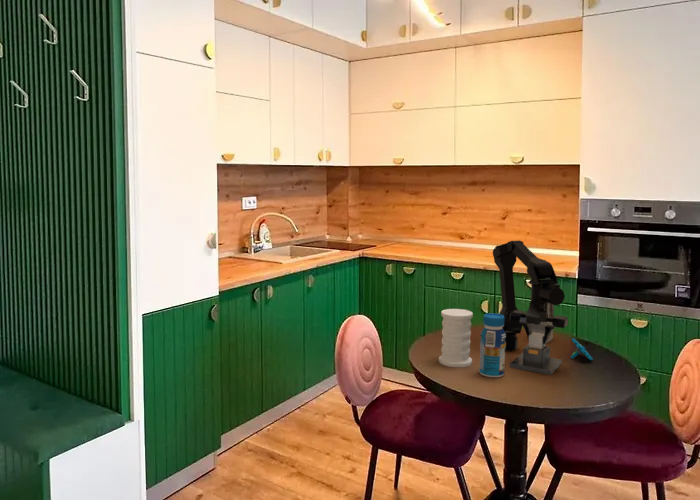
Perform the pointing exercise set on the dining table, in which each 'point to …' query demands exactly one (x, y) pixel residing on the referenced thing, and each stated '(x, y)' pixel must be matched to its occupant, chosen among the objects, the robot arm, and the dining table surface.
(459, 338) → the decorative container
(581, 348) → the blue angular plastic piece
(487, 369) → the beverage bottle
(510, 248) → the robot arm
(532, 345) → the block
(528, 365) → the stand
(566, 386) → the dining table surface
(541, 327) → the coffee box
